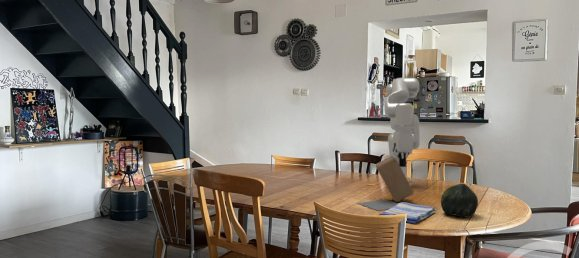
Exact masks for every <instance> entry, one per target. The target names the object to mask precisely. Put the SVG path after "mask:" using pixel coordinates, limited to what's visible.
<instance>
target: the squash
mask: <svg viewBox="0 0 579 258" xmlns="http://www.w3.org/2000/svg"><path fill="white" fill-rule="evenodd" d="M440 206H441V210H442V211H443V212H444V213H445V214H446V215H450V216H451V215H452V216H454V215H455V216H459V217H461V218H470V217H472V216H473V215H475V213H476V211H477V208H478V206H479V200H478V196H477V194H476V193H475V192H474V191H473V190H472V189H471V188H470V187H469V186H468V185H467V184H465V183H459V184H456V185H452V186H450V187H448V188H446V189H445V190H444V191H443V193H442V195H441V198H440Z"/></svg>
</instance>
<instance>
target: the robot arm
mask: <svg viewBox="0 0 579 258" xmlns="http://www.w3.org/2000/svg"><path fill="white" fill-rule="evenodd" d="M419 91H420V81H419V80H418V79H417V78H416V77H397V78H395V79H394V80H393V81H392V82H391V83H389V84H387V85H386V87H385V94H386V98H385V100H384V115H385V117H387V119H390V121H389V122H390V128H391V130H393V132H391V133H390V134H389V135H388V136H387V143H388V150H389V151H388V154H389V156H388V158H389V157H391V156H393V157H394V158H395V159H396V160H397V162H398V164H399V166H400V168H401V170H402V171H403V173H404V175H405V177H406V179H407V159H408V158H409V156H410V155H411V154H413V151H414V150H418V149H419V148H420V145H421V144H420V143H421V141H420V140H421V139H420V138H421V135H420V118H419V117H418V115H417V114H415V107H414V105H413V104H412V103H410V102H407V101H408V100H409V99H413V98H416V97H417V96H418V94H419ZM407 181H408V183H409V184H412V183H413V180H412V179H407ZM385 186H386V185H385ZM386 188H387V186H386Z"/></svg>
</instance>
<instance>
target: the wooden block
mask: <svg viewBox="0 0 579 258" xmlns="http://www.w3.org/2000/svg"><path fill="white" fill-rule="evenodd" d="M375 168H376V169H377V171H378V173H379V175H380V177H381V179H382V180H383V183H384V184H385V186H387V187H386V188H387V189H388V192H389V193H390V194H389V195H391V198H392V199H393V200H394V201H393V202H395V203H400V201H402V200H403V201H404V199H406V198H408V197H411V196H412V195H414V193H415V192H414V189H412V186H411V183H408V181H407V176H406V177H405V175H404V173H403V171H402V170H401V168H400V166H399V164H398V162H397V160H396V159H395V158H394V157H393V156H391V157H389V156H388V157H387V158H385V159H383V160H381V161H379V162H377V163H376V164H375Z"/></svg>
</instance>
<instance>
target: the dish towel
mask: <svg viewBox="0 0 579 258" xmlns="http://www.w3.org/2000/svg"><path fill="white" fill-rule="evenodd" d="M436 211H437V210H436V208H435V207H434V206H427V205H421V204H414V203H410V202H405V201H404V202H403V201H402V202H398V204H397V205H396V206H394V207H392V208H390V209H389V210H384V211H383V212H381V213H379V214H378V216H379V215H396V214H403V213H407V222H406V223H408V224H414V225H416V224H417V223H419V222H420V221H422V220H424V219H426V218H429V217H430V216H431V215H433V214H434V213H436Z"/></svg>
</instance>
